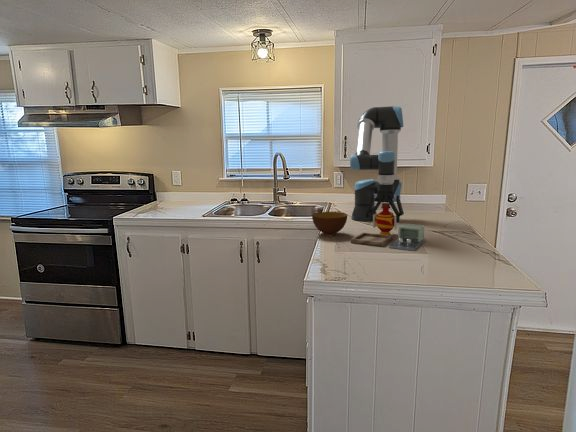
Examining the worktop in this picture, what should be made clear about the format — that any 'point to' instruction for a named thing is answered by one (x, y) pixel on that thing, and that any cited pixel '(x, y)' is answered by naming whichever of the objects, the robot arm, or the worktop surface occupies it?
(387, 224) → the potion bottle
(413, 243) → the stub plate
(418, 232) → the block
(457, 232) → the worktop surface
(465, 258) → the worktop surface
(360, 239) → the tray
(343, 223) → the bowl
